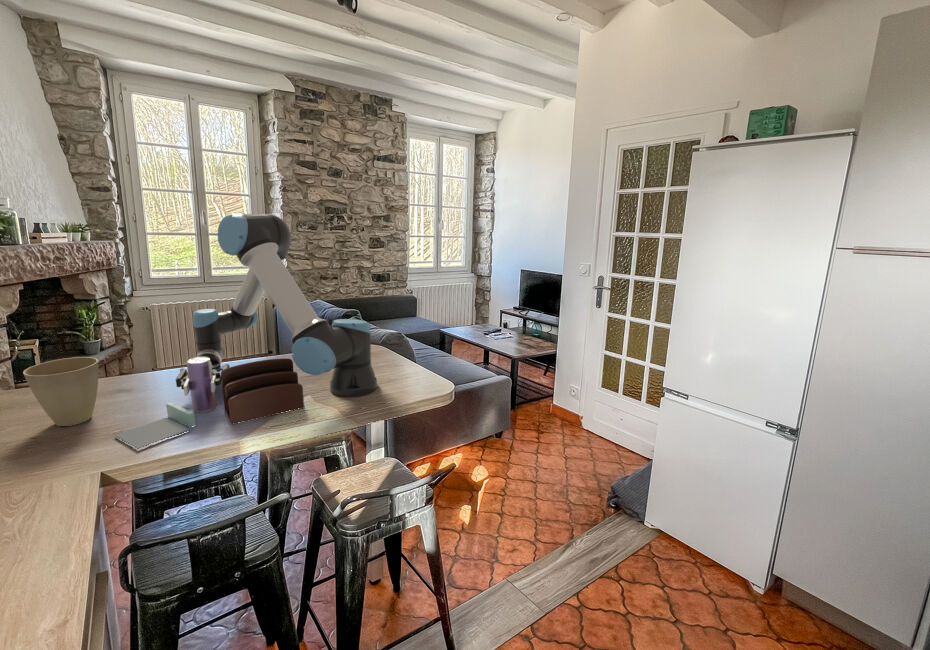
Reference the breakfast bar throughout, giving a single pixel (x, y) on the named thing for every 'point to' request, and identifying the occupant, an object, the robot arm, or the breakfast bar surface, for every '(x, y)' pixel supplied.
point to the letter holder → (260, 389)
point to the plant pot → (65, 388)
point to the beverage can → (201, 384)
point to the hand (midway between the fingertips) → (199, 389)
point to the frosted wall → (180, 414)
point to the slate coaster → (151, 433)
